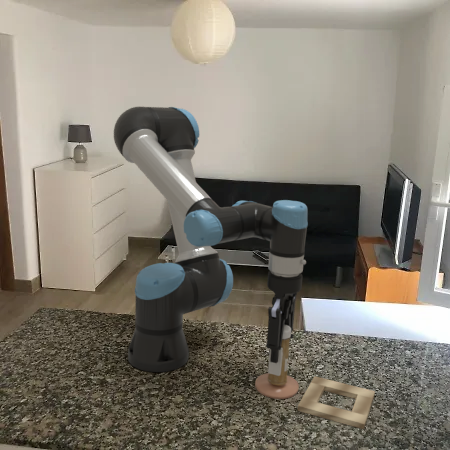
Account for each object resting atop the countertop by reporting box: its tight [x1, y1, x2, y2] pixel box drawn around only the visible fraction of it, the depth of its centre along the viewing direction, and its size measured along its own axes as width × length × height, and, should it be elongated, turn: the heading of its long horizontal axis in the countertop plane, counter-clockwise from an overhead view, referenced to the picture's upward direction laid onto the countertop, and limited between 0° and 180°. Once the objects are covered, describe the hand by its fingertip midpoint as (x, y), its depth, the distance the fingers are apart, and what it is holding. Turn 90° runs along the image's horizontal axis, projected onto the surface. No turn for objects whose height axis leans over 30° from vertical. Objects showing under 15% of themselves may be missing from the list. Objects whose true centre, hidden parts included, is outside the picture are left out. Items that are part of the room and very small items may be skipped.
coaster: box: [254, 372, 300, 400], centre depth 121 cm, size 10×10×1 cm
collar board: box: [297, 376, 376, 430], centre depth 115 cm, size 14×14×1 cm
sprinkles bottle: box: [268, 324, 292, 386], centre depth 119 cm, size 5×5×14 cm
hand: (277, 368), depth 120 cm, fingers closed on sprinkles bottle, 4 cm apart
